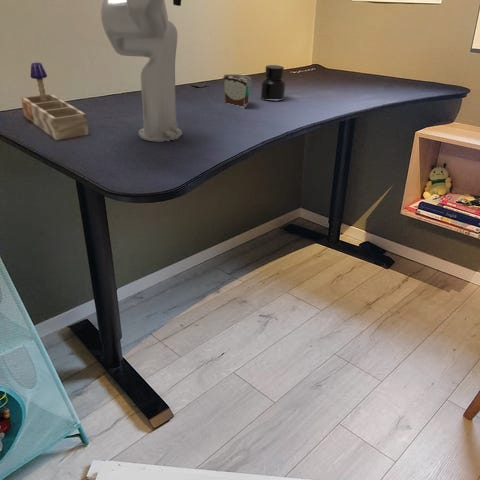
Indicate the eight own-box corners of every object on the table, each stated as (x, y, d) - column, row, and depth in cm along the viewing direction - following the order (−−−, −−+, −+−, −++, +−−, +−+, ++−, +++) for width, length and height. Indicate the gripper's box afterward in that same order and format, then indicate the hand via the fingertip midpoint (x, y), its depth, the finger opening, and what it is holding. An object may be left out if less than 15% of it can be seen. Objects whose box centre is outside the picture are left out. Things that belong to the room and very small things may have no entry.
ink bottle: (288, 99, 183) (291, 67, 177) (276, 103, 177) (279, 70, 171) (268, 94, 188) (270, 63, 182) (255, 98, 182) (257, 66, 176)
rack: (88, 134, 137) (86, 114, 134) (54, 140, 132) (51, 119, 129) (54, 112, 154) (51, 93, 151) (23, 116, 149) (19, 97, 146)
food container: (257, 106, 172) (259, 78, 167) (246, 109, 168) (248, 81, 163) (233, 99, 179) (234, 72, 174) (222, 102, 175) (222, 74, 170)
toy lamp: (44, 121, 146) (35, 65, 137) (35, 118, 148) (24, 63, 139) (57, 117, 149) (48, 63, 141) (47, 115, 151) (38, 60, 143)
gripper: (140, -66, 123) (144, 7, 131) (194, -61, 132) (194, 6, 141) (126, -66, 127) (131, 4, 136) (179, -61, 137) (180, 4, 146)
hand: (163, 5), depth 139 cm, fingers open, 9 cm apart
